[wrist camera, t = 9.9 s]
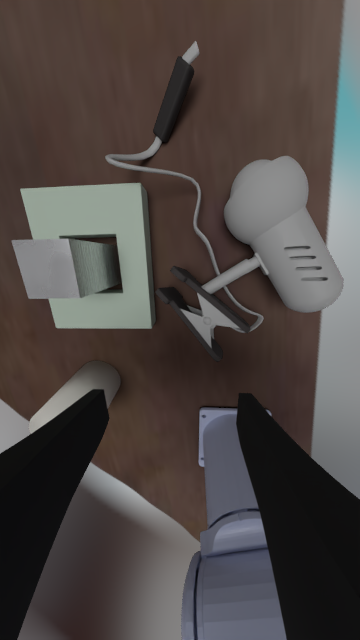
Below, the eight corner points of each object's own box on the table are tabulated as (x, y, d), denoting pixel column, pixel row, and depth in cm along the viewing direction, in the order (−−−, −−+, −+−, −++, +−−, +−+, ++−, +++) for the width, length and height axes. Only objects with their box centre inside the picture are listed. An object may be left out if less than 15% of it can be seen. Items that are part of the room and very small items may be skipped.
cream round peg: (122, 396, 22) (93, 457, 15) (83, 394, 22) (37, 453, 15) (118, 361, 20) (82, 411, 14) (76, 360, 20) (21, 409, 14)
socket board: (155, 321, 18) (151, 328, 16) (69, 320, 19) (56, 328, 17) (147, 192, 15) (140, 182, 13) (41, 197, 15) (20, 188, 13)
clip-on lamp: (116, 192, 18) (209, 352, 18) (56, 143, 12) (199, 386, 12) (227, 84, 14) (341, 290, 14) (224, -71, 8) (422, 295, 8)
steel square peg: (123, 282, 17) (80, 298, 11) (90, 282, 17) (28, 298, 11) (118, 246, 16) (68, 238, 10) (84, 246, 16) (11, 240, 10)
